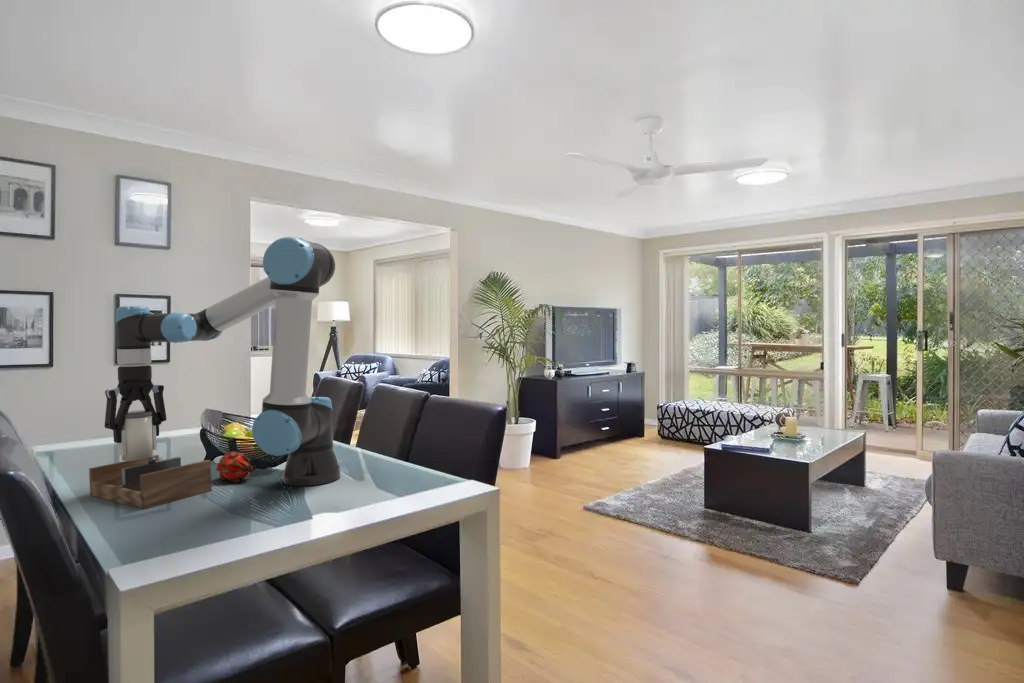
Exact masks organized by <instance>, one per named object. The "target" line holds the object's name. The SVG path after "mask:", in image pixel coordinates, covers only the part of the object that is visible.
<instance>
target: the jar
mask: <svg viewBox="0 0 1024 683" xmlns="http://www.w3.org/2000/svg"><path fill="white" fill-rule="evenodd" d="M122 430H126V455H125V456H122V455H121V460H122V462H123V461H136V460H143V459H148V458H151V457H153V455H154V450H153V436H152V411H145V409H143V410H131V411H130V410H128V413H127V414H126V415H125V422H124V425H123V428H122Z"/></svg>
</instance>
